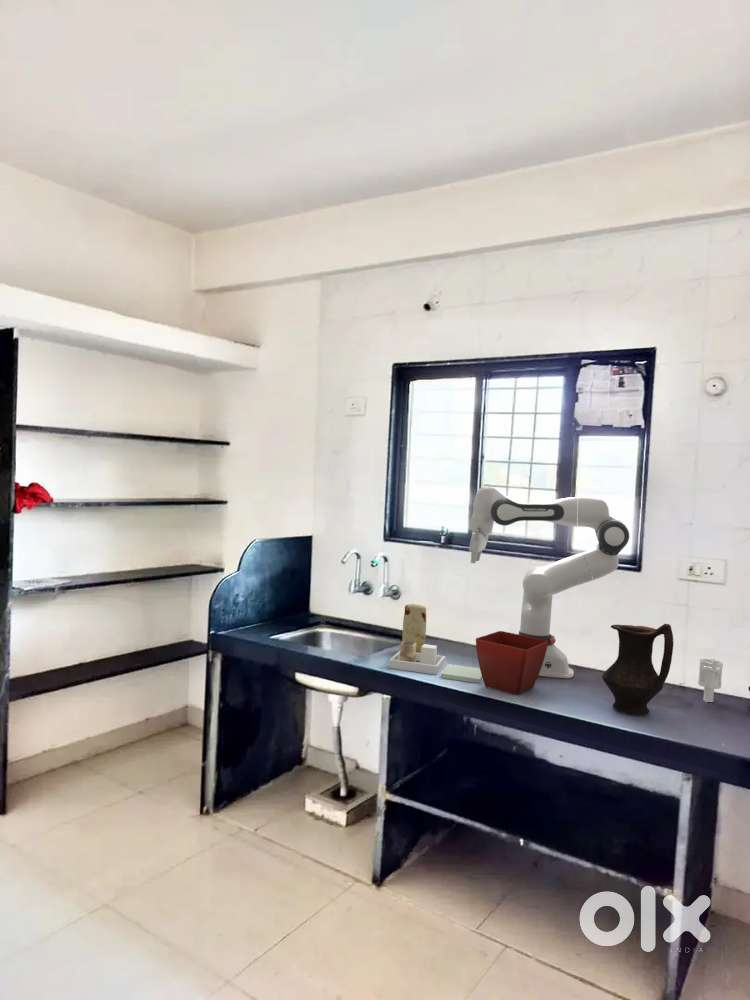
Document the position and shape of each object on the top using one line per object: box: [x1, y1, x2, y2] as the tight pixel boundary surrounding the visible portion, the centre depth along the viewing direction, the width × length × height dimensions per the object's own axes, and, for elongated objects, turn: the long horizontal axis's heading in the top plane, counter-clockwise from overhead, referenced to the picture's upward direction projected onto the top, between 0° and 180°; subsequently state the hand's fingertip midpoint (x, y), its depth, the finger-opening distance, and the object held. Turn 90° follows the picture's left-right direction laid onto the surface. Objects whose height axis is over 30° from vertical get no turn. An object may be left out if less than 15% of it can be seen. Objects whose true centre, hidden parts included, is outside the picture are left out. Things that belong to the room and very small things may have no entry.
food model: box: [401, 603, 427, 653], centre depth 277 cm, size 10×7×20 cm
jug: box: [601, 623, 674, 716], centre depth 219 cm, size 21×18×30 cm
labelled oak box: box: [399, 641, 417, 663], centre depth 259 cm, size 5×5×8 cm
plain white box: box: [419, 643, 438, 665], centre depth 257 cm, size 5×5×8 cm
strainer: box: [697, 658, 724, 703], centre depth 236 cm, size 7×7×15 cm
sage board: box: [440, 663, 483, 684], centre depth 249 cm, size 14×14×2 cm
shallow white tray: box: [388, 650, 447, 676], centre depth 258 cm, size 18×16×3 cm
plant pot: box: [475, 630, 548, 696], centre depth 237 cm, size 19×19×17 cm
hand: (474, 561), depth 269 cm, fingers open, 8 cm apart
